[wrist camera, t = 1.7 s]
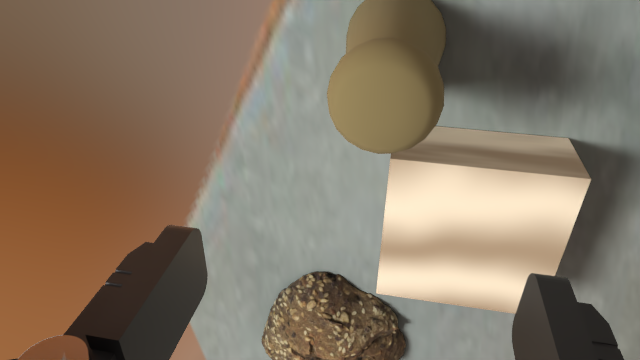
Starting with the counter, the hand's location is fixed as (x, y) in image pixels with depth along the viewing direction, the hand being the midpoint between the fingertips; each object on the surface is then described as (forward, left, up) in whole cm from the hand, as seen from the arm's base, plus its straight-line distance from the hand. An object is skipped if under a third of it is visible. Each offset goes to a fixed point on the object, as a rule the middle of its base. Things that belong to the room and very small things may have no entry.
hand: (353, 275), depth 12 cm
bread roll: (+27, -3, -21) cm, 34 cm away
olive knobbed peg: (0, 0, -21) cm, 21 cm away
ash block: (+11, +6, -21) cm, 24 cm away
